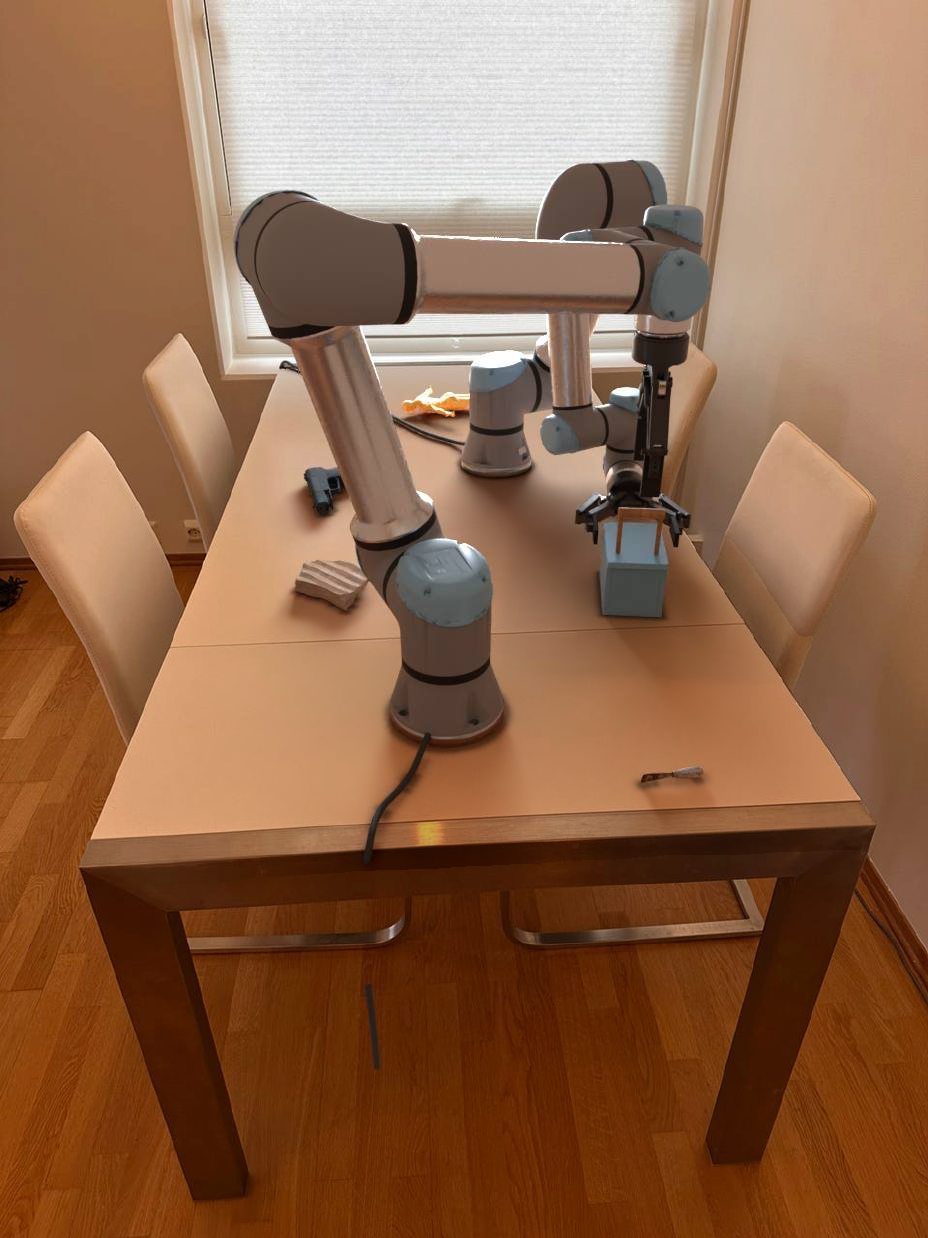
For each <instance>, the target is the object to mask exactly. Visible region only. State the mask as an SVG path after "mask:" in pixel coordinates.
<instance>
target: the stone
mask: <svg viewBox="0 0 928 1238" xmlns="http://www.w3.org/2000/svg"><path fill="white" fill-rule="evenodd" d="M369 582H370V581H369V580H368V579H367V578H366V576H365V575H364V573H363V572H362V570H361V568H360V566H359V563H358V562H357V561H353V560H349V559H341V560H340V559H339V560H328V559H316V560H314V561H313V560H311V561H309V560H306V561H304V562H303V563H302V566H301V568H300V572H299V575H298V577H297V578H296V579H295V581H294V585H295V586H294V591H295V592H299V593H301V594H305V595H307V596H310V597H312V598H320V599H324V600H325V601H328V602H329V603H331V604H332V605H334V606H335V607H338V608H339V609H341V610H344V611H347V610H348V608H349V607H351V606H352V605H353V604H354V601H355V598H356V596H357V595H358V594H359V593H360V592H361V590H362V589H364V588H365V587H366V586H367V585H368V583H369Z"/></svg>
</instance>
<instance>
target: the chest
mask: <svg viewBox="0 0 928 1238" xmlns="http://www.w3.org/2000/svg"><path fill="white" fill-rule="evenodd" d="M601 540H602V541H601V550H600V551H601V552H600V563H599V586H600V587H599V588H600V599H601V613H602V615H603V616H622V617H625V616H626V617H645V618H646V617H647V618H648V617H649V618H662V614H663V607H664V598H665V591H666V584H667V575H668V570H651V569H626V568H607V559H606V548H605V537H604V527H603V529H602V539H601Z"/></svg>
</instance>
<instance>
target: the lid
mask: <svg viewBox="0 0 928 1238" xmlns="http://www.w3.org/2000/svg"><path fill="white" fill-rule="evenodd" d="M664 518H665V509H652V508H623V507H619V508H618V515H617V519H618V520H617V521H604V522H603V528H604V537H605V548H606V559H607V568H626V569H651V570H667V571H669V566H670V564H669V559H668V555H667V549H666V546H665V539H664V536H663V520H664ZM625 519H636V520H654V519H658V521H656V523H650V522H649V523H648V522H624V520H625Z"/></svg>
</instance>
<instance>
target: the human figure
mask: <svg viewBox="0 0 928 1238" xmlns="http://www.w3.org/2000/svg"><path fill="white" fill-rule="evenodd" d="M424 391H425V392H423V393H422V394H420V395H418V396H416V398H415V399H414V400H404V401H403V402H402V411H404V412H405V413H410V414H412V413H414V412H417V408H418V409H420V410H421V411H423V412H424V413H427V414H439V415H443V416H444V417H449V416H450V417H451V418H452V417H453V418H454V417H455V416H456V414H455V411H462V410H464V409H467V408H469V393H468V394H460V393H457V394H455V393H453V392H446V393H444V394H443V395H442V396H441V397H440V398H434V397H429V396H430V395H432V394H433V392H434V391H433V389H432V385H429V387H428V389H424ZM450 410H452V411H450Z"/></svg>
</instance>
